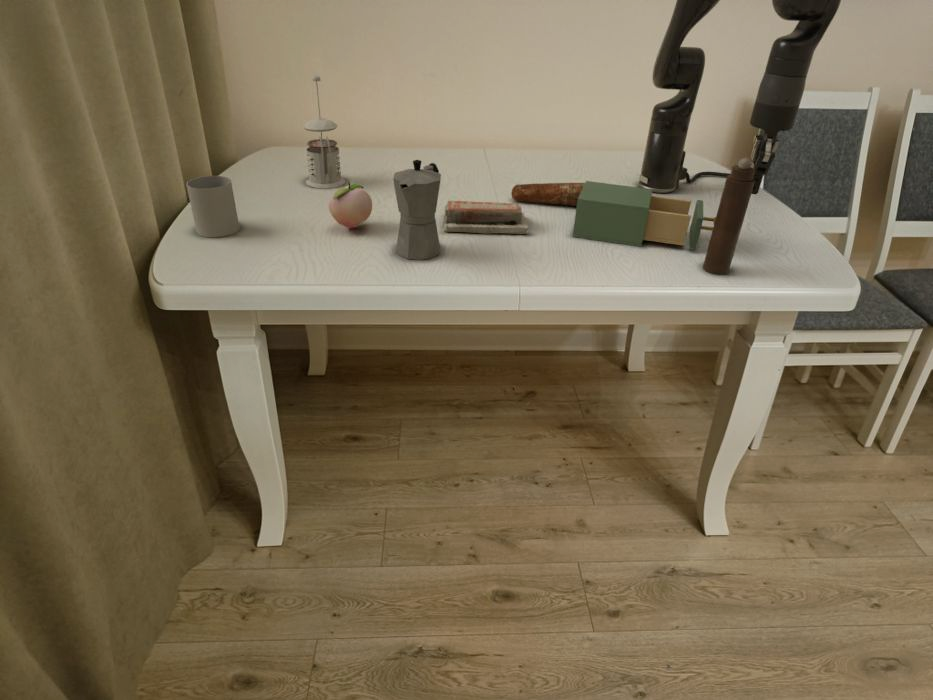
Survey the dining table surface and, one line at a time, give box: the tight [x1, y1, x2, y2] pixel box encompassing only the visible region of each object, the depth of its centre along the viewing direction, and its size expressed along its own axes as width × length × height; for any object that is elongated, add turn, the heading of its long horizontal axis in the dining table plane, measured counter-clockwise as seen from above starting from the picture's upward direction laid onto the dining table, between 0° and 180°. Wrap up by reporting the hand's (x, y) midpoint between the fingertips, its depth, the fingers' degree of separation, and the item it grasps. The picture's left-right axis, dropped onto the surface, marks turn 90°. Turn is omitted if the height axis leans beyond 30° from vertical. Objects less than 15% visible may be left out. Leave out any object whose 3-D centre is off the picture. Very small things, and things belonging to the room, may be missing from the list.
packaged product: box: [443, 200, 529, 235], centre depth 135 cm, size 18×5×10 cm
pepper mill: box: [702, 156, 755, 276], centre depth 115 cm, size 5×5×22 cm
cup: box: [186, 175, 240, 238], centre depth 127 cm, size 8×8×10 cm
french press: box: [302, 74, 346, 189], centre depth 149 cm, size 10×12×25 cm
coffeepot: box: [392, 159, 442, 261], centre depth 120 cm, size 15×9×18 cm, turn 159°
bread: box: [511, 182, 585, 207], centre depth 148 cm, size 6×19×6 cm, turn 80°
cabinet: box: [572, 180, 653, 248], centre depth 133 cm, size 14×12×8 cm
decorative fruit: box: [328, 181, 373, 229], centre depth 129 cm, size 9×8×10 cm
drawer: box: [643, 195, 716, 250], centre depth 130 cm, size 18×11×7 cm, turn 73°
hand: (751, 192), depth 123 cm, fingers closed
